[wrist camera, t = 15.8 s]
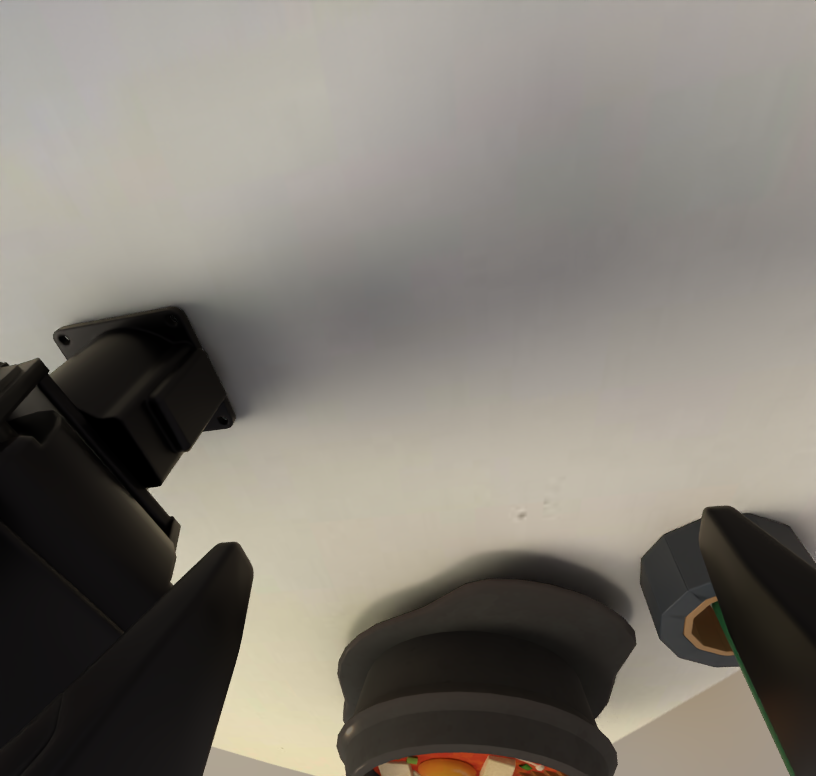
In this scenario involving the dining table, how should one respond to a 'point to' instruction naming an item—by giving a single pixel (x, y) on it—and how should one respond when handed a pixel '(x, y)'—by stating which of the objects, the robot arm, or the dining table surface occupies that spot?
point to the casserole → (484, 685)
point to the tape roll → (694, 592)
